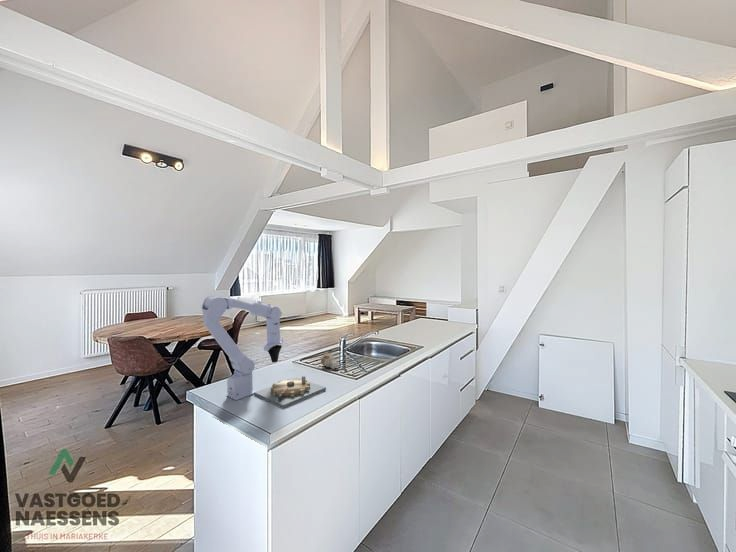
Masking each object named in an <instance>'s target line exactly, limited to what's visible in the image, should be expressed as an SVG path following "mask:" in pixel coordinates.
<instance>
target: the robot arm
mask: <svg viewBox="0 0 736 552" xmlns="http://www.w3.org/2000/svg"><path fill="white" fill-rule="evenodd" d="M232 308H235V309H240V310H244V311H249V313H250V315H254V316H256V317H262V318H265V319H266V320H265V322H266V341H267V342H265V343H266V344H265V345H264V346H263V351H265V352H266V351H267V353H268V355H269V357H270V360H271V363H277V362H278V361H279V356H280V351H281V349H282V348H283V347H282V344H284V338H282V337H281V326H280V325H281V324H280V319H281V317H282V315H283V313H282V311H281V309H280V308H279V307H278V306H272V305H271V304H270V303H267V304H266V303H263V302H262V301H260V300H257V301H254V302H251V303H250V302H247V301H243V300H240V299H235V298H231V297H225V296H224V297H223V296H215V295H209V296H207V297H206V298H204V300H203V303H202V305H201V310H202V318H203V319H202V320H203V322H202V323H203V326H204V327H205V328H206V330H207V331H208V332H209V333H210V334H211V336H212V337H213V338H214V339H215V341H216V342H217V344H218V345H219V347H221V350H223V351H224V353H225V354H226V355H227V356H228V359H229V361H230V363H231V364H230V365H231V367H232V369H234V371H233V374H232V375H230V376H229V377H228V378H227V382H226V384H227V385H226V386H227V387H226V389H227V394H226V396H227V397H229V398H231V399H232V400H233V399H234V400H235V401H237V400H240V399H244V398H246V397H249V396H252V395H254V392H257V391H258V390H254V389H253V388H254V386H253V371H254V370H255V367H256V364H255V362H254V360H253V359H251V358H249V357H248V356H247V355H246V354H245V353H244V352H243V351H242V350H241V349H240V348H239V346H238V345H237V344H236V342H235V341H234V339H233V338H232V337H231V336H230V335H229V333H228V332H227V331H226V329H225V327H224V326H223V325H222V324H221V319H222V316H223V315H224V313H225V312H226V310H231V309H232Z"/></svg>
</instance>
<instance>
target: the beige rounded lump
mask: <svg viewBox="0 0 736 552" xmlns="http://www.w3.org/2000/svg"><path fill="white" fill-rule="evenodd" d="M320 363H321V365H322V366H323V367H325V366H326V367H325V368H330V369H332V370H335V369H334V368H336V369H337V368H338V367H340V368H341V365H340V364H339V363H338V362H337V361H336V359H335V356H334V355H333V354H332V353H329V352H326V353H325V354H323V355H322V357H321V359H320Z"/></svg>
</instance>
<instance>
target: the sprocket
mask: <svg viewBox="0 0 736 552" xmlns="http://www.w3.org/2000/svg"><path fill="white" fill-rule="evenodd" d="M300 379H302V380H300ZM307 381H308V380H307V379H306V376H305V375H303V376H301V378H299V379H296V380H291V378H288V379H286V380H279V381H278V382H277V383H273V384H271V386H272V387H271V386H270V387H271V392H273V395H280V394H283V397H284V396H291V397H293V396H294V395H297V394H304V391H309V387H310V382H311V381H308V383H307Z"/></svg>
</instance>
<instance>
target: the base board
mask: <svg viewBox="0 0 736 552" xmlns="http://www.w3.org/2000/svg"><path fill="white" fill-rule="evenodd" d="M290 379H291V378H290ZM296 379H300V380H302V378H299V377H295V378H292V379H291V380H296ZM308 382H310V387H309V391H304V394H297V395H294V396H293V397H291V396H284V397H283V394H280V395H273V392H271V387H272V385H271V386H269V387H266V388H262V389H260V390H256V391H257V392H254V394H253V395H254V396H255V397H258V398H259V399H262V400H264V401H265V402H268V403H271V404H273V405H274V406H277V407H279V408H281V409H285V408H287V407H289V406H292V405H294V404H296V403H297V404H298V403H299V402H301V401H303V400H307V399H308V397H309V398H311V397H313V396H315V394H316V395H317V393H318V394H320V393H323V392H324V390H325V391H327V387H326V386H323V385H320V384H317V383H314V382H311V381H308V380H307V383H308ZM322 391H323V392H322ZM310 396H311V397H310Z"/></svg>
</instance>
